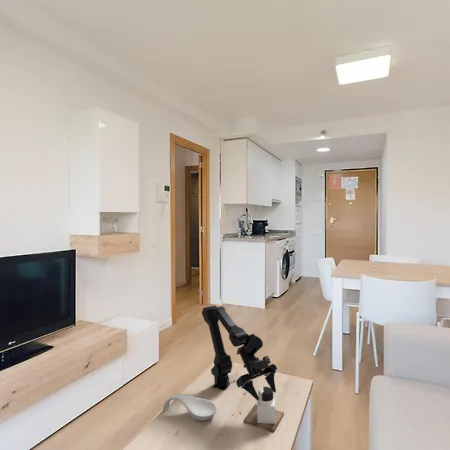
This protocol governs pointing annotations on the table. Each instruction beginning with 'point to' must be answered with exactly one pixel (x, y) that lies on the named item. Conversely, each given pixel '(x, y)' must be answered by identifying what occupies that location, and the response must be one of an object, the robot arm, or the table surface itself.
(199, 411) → the spoon rest
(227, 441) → the table surface
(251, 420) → the walnut board
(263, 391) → the medicine bottle
